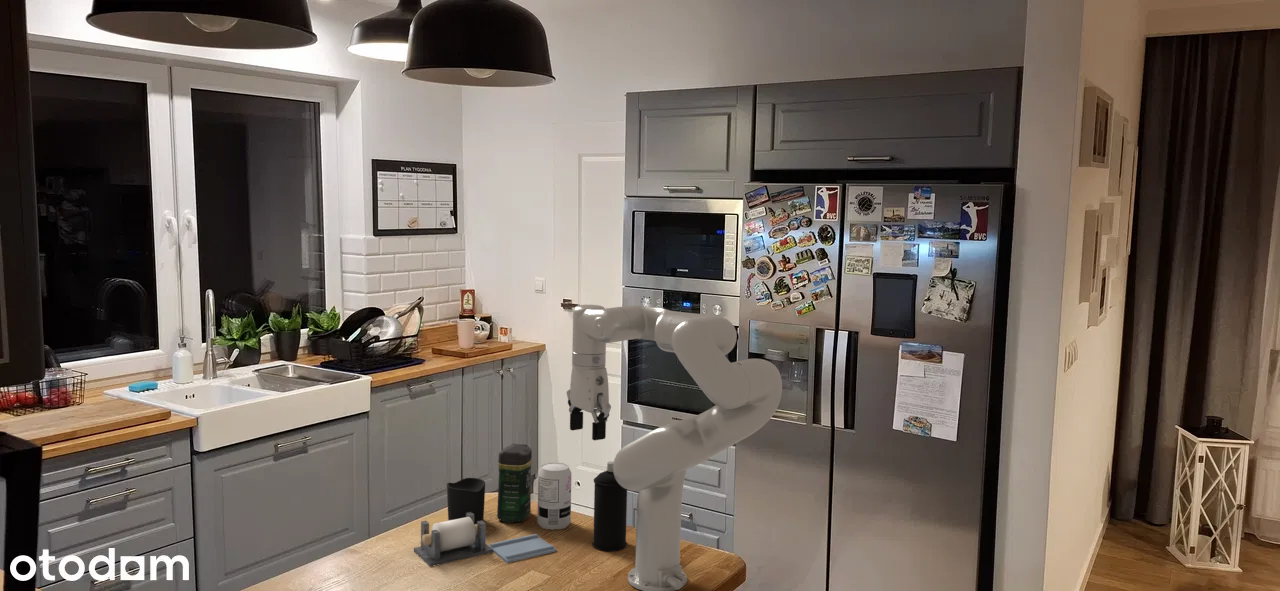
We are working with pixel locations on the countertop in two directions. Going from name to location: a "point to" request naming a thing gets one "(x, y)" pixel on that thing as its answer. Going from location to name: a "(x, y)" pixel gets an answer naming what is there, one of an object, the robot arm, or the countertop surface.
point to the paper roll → (453, 533)
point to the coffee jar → (514, 483)
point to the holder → (436, 557)
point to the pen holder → (466, 499)
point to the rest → (521, 548)
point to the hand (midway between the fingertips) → (587, 434)
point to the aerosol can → (609, 512)
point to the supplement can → (554, 496)
